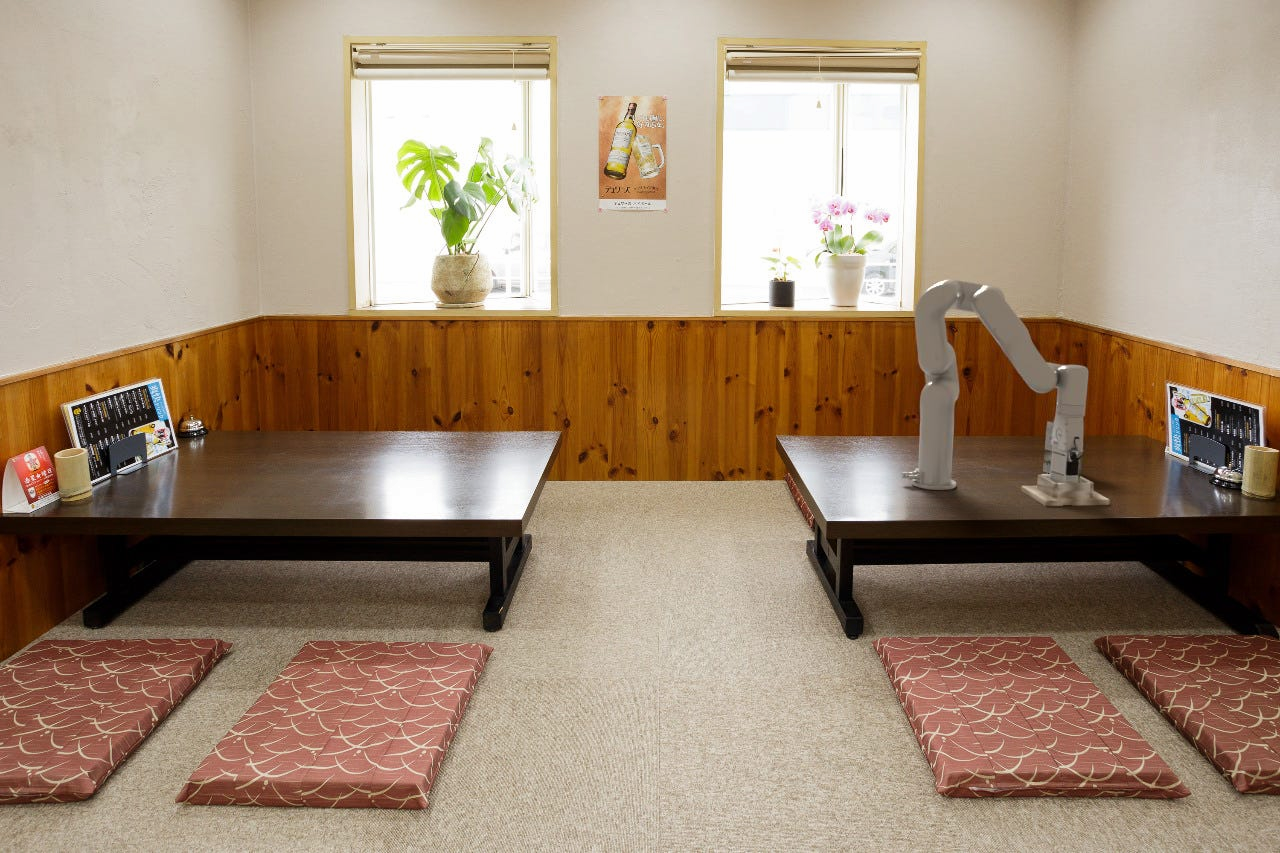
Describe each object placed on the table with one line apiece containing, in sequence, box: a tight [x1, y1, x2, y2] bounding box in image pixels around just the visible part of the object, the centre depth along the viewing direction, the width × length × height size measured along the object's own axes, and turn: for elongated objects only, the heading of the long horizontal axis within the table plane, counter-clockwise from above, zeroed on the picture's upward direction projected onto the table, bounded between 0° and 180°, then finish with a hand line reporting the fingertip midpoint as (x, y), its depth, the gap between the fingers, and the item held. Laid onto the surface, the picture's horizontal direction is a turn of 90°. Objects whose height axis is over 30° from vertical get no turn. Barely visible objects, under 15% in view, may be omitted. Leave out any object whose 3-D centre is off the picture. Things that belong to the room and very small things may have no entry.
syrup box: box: [1050, 439, 1084, 483], centre depth 289 cm, size 6×6×14 cm
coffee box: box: [1042, 420, 1085, 474], centre depth 318 cm, size 9×6×16 cm
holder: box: [1020, 473, 1110, 507], centre depth 291 cm, size 18×16×6 cm
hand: (1065, 471), depth 290 cm, fingers open, 7 cm apart
